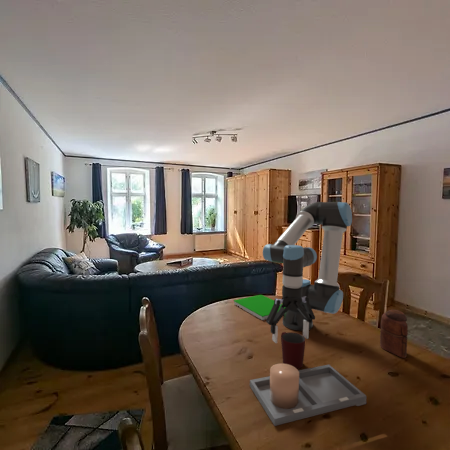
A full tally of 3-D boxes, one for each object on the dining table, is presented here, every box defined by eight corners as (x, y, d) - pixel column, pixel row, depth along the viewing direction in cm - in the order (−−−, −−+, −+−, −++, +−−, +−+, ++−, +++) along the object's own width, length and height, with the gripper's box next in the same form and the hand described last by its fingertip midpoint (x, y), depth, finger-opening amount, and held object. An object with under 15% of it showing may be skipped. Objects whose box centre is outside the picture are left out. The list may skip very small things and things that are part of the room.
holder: (328, 371, 105) (329, 363, 105) (366, 403, 88) (366, 395, 88) (249, 387, 96) (249, 379, 95) (274, 427, 79) (274, 418, 78)
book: (262, 321, 150) (262, 316, 150) (233, 305, 174) (233, 300, 174) (292, 313, 162) (292, 308, 162) (261, 298, 186) (261, 294, 186)
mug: (272, 357, 114) (273, 331, 114) (290, 353, 118) (291, 327, 117) (289, 374, 103) (290, 345, 103) (309, 368, 107) (310, 340, 106)
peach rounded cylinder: (289, 387, 95) (289, 361, 94) (304, 405, 87) (305, 377, 86) (264, 392, 92) (265, 366, 92) (277, 411, 84) (278, 382, 83)
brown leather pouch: (412, 355, 116) (415, 313, 115) (403, 359, 113) (406, 316, 112) (384, 343, 127) (386, 304, 125) (375, 346, 124) (377, 306, 122)
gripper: (314, 281, 115) (312, 331, 117) (258, 285, 108) (257, 338, 109) (325, 286, 108) (323, 339, 110) (267, 290, 101) (265, 348, 102)
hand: (290, 339), depth 109 cm, fingers open, 13 cm apart
